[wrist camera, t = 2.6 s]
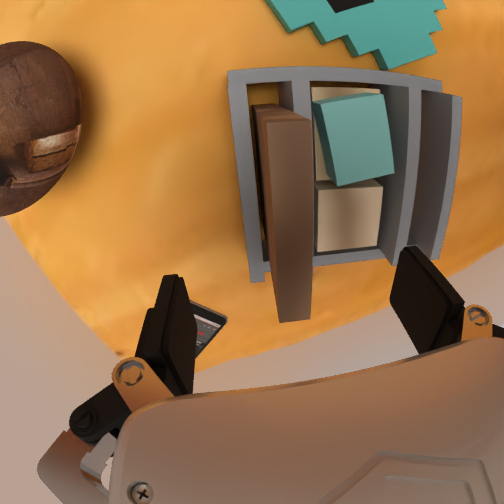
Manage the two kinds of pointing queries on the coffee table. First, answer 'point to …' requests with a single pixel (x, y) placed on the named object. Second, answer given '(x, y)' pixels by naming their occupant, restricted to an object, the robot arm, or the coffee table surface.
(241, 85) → the rack
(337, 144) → the offcut teal
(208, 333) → the smartphone
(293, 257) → the brown block
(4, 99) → the wooden sphere
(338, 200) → the offcut beech
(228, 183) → the coffee table surface
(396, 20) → the alien figure
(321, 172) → the offcut oak wide
